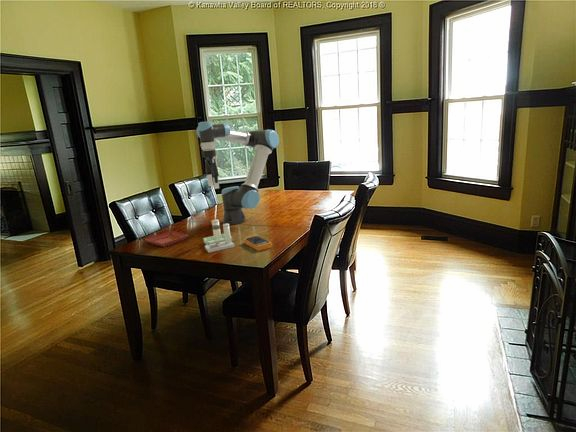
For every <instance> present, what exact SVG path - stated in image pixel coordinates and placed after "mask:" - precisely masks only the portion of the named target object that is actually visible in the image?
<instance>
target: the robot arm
mask: <svg viewBox="0 0 576 432" xmlns="http://www.w3.org/2000/svg"><path fill="white" fill-rule="evenodd" d="M197 125H198V126H197V127H196V132H195V133H196V136H197V137H198V138H199V139H200V140H199V141H200V144H199V145H200V148H201V150H202V151H201V154H202V155H201V157H202V158H204V163H205V164H204V165H205V166H204V167H205V168H204V169H205V170H204V171H205V172H204V173H205V175H206V179H207V180H206V181H207V186H208V187H212V186H213V189H214V190H217V189H220V183H219V176H220V174H219V170H218V166H217V163H216V159H215V158H214V157H216V156H217V151H216V145H215V144H216V143H215V140H217V141H222V142H223V141H224V142H229V143H234V144H240V145H241V146H244V147H250V148H253V149H255V152H254V155H253V157H252V161H251V163H250V165H249V169H248V171H247V175H246V178H245V181H244V183H242V184H240V186H239V185H236V186H229V187H225V188H223V189H222V190H221V199H222V205H223V216H222V223H223V224H226V223H228V224H229V226H230V225H238V224H243V223H244V222H246V219H247V218H246V215H245V214H244V211H243V209H248V210H249V209H251V210H252V209H253V208H256V207H257V206H258V205H259V203H260V198H261V197H260V193H259V188H258V187H259V184H260V180H261V178H262V175H263V172H264V169H265V166H266V164H267V160H268V157H269V155H270V154H272V152H273V150H274V149H276V148H277V147H279V143H280V138H279V135H278V133H277V132H276V131H275V130H273V129H263V130H260V129H258V130H242V131H239V130H234V129H231V127H230V125H229V124H228V123H216V124H215V123H214V124H213V123H212V121H211V120H210V121H200V122H198V123H197ZM223 224H222V225H223Z"/></svg>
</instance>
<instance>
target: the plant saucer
mask: <svg viewBox="0 0 576 432" xmlns="http://www.w3.org/2000/svg"><path fill="white" fill-rule="evenodd" d="M170 235H173V236H177V237H180V238H177V239H174V240H172V239H170V238H169V237H168V236H170ZM188 236H189V233H183V232H178V231H173V230H171V231H166V232H164V233H160V234H157V235H154V236H151V237H147V238H145V241H146V242H147V243H149V244H150V243H151V245H154V244H155V246H158V245H159V246H158V247H162V246H163V247H162V248H165V246H166V247H168V246H171V245H174V244H177V243H180V242H182V241H181V240H183V241H185V240H186V239H187V238H188ZM165 237H168V238H165ZM162 238H164V239H162ZM158 239H159V240H158ZM184 239H185V240H184ZM179 241H180V242H179ZM176 242H177V243H176ZM173 243H174V244H173ZM170 244H171V245H170ZM167 245H168V246H167Z"/></svg>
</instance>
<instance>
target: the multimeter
mask: <svg viewBox="0 0 576 432" xmlns="http://www.w3.org/2000/svg"><path fill="white" fill-rule="evenodd" d="M244 244H245V245H247V246H249V247H250V248H252V249H254V250H255V251H257V252H261V251H265V250H268V249H271V248H272V247H273V245H272V241H269V240H267V239H265V238H263V237H261V236H260V235H250V236H246V237H245V238H244Z"/></svg>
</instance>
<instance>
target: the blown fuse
mask: <svg viewBox="0 0 576 432" xmlns="http://www.w3.org/2000/svg"><path fill="white" fill-rule="evenodd" d="M211 227H212V234H213V235H212V236H214V241H216V240H221V234H222V233H221V232H222V231H221V225H220V220H219V219H217V218H216V219H212V220H211Z"/></svg>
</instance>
